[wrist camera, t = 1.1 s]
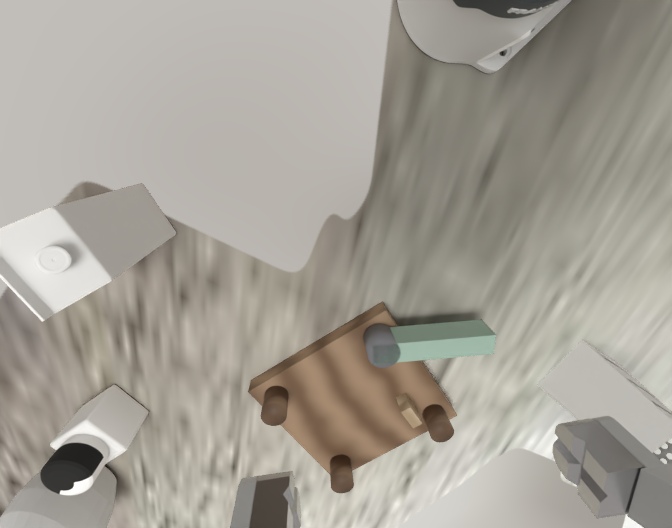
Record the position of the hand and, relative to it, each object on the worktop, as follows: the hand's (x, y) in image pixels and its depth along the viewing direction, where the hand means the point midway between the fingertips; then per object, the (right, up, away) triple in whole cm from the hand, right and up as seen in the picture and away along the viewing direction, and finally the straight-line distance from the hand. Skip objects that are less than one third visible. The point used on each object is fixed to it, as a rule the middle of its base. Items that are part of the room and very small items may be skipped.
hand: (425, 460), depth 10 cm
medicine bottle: (-37, -17, +41) cm, 58 cm away
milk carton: (-28, +11, +31) cm, 44 cm away
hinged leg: (+10, -4, +37) cm, 39 cm away
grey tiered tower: (+39, -13, +46) cm, 62 cm away
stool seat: (0, -15, +44) cm, 46 cm away
